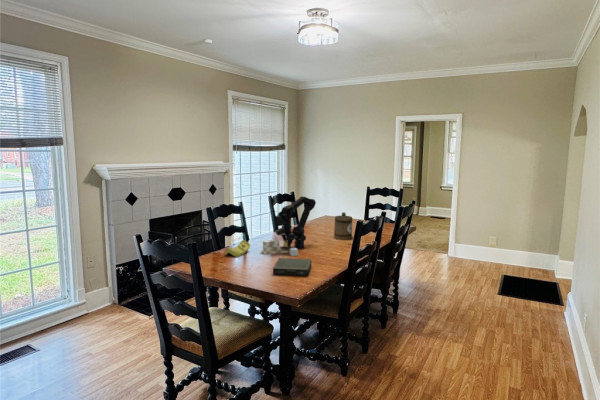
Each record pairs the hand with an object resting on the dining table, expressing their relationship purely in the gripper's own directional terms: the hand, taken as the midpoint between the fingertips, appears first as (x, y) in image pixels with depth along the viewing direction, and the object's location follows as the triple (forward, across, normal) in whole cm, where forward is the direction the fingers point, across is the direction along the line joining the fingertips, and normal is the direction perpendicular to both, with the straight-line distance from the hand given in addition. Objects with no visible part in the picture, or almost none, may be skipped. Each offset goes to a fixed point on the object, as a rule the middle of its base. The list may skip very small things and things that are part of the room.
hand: (287, 245), depth 272 cm
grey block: (+4, +12, +1) cm, 13 cm away
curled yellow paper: (+4, -4, -34) cm, 35 cm away
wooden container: (+4, -24, +58) cm, 63 cm away
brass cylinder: (+3, 0, 0) cm, 3 cm away
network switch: (+5, +44, -11) cm, 46 cm away
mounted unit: (+4, 0, -6) cm, 8 cm away
